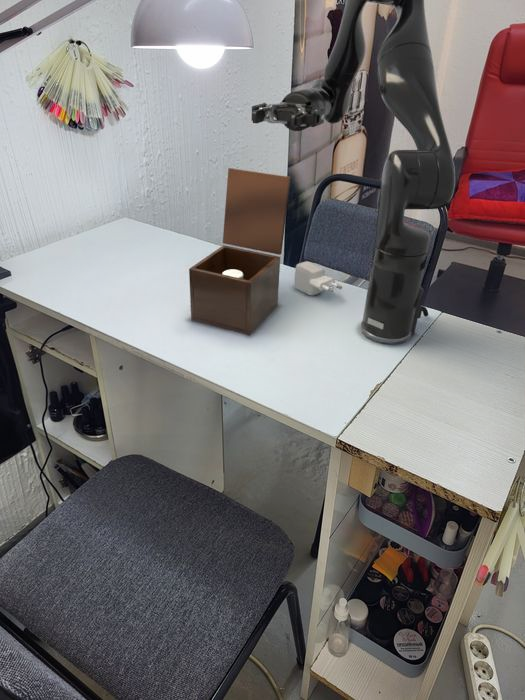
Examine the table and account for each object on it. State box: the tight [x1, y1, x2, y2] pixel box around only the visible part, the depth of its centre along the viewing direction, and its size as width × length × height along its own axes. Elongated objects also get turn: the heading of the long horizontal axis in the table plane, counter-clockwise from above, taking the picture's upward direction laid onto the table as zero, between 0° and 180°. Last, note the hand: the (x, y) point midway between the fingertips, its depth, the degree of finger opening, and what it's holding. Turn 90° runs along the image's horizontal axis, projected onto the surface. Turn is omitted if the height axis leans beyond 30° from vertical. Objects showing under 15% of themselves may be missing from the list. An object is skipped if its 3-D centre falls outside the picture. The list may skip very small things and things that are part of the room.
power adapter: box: [294, 260, 343, 296], centre depth 111 cm, size 11×5×6 cm, turn 40°
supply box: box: [188, 244, 281, 336], centre depth 102 cm, size 14×13×11 cm
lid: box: [222, 167, 292, 256], centre depth 101 cm, size 14×13×1 cm
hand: (273, 119), depth 98 cm, fingers open, 7 cm apart
